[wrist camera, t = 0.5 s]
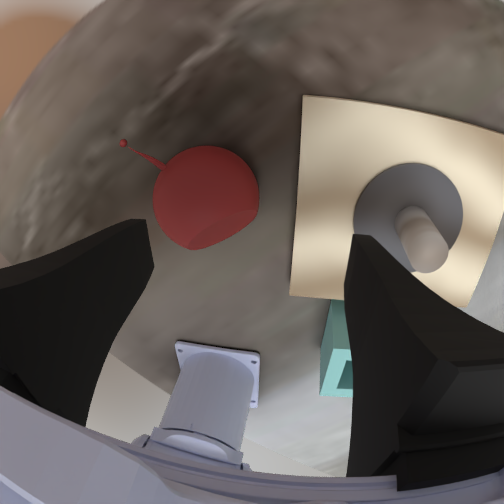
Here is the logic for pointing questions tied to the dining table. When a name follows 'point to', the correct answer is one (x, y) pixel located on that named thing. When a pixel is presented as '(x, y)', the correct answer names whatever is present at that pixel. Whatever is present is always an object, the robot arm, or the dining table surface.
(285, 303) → the dining table surface
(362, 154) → the post base
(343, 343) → the collar
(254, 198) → the fruit
